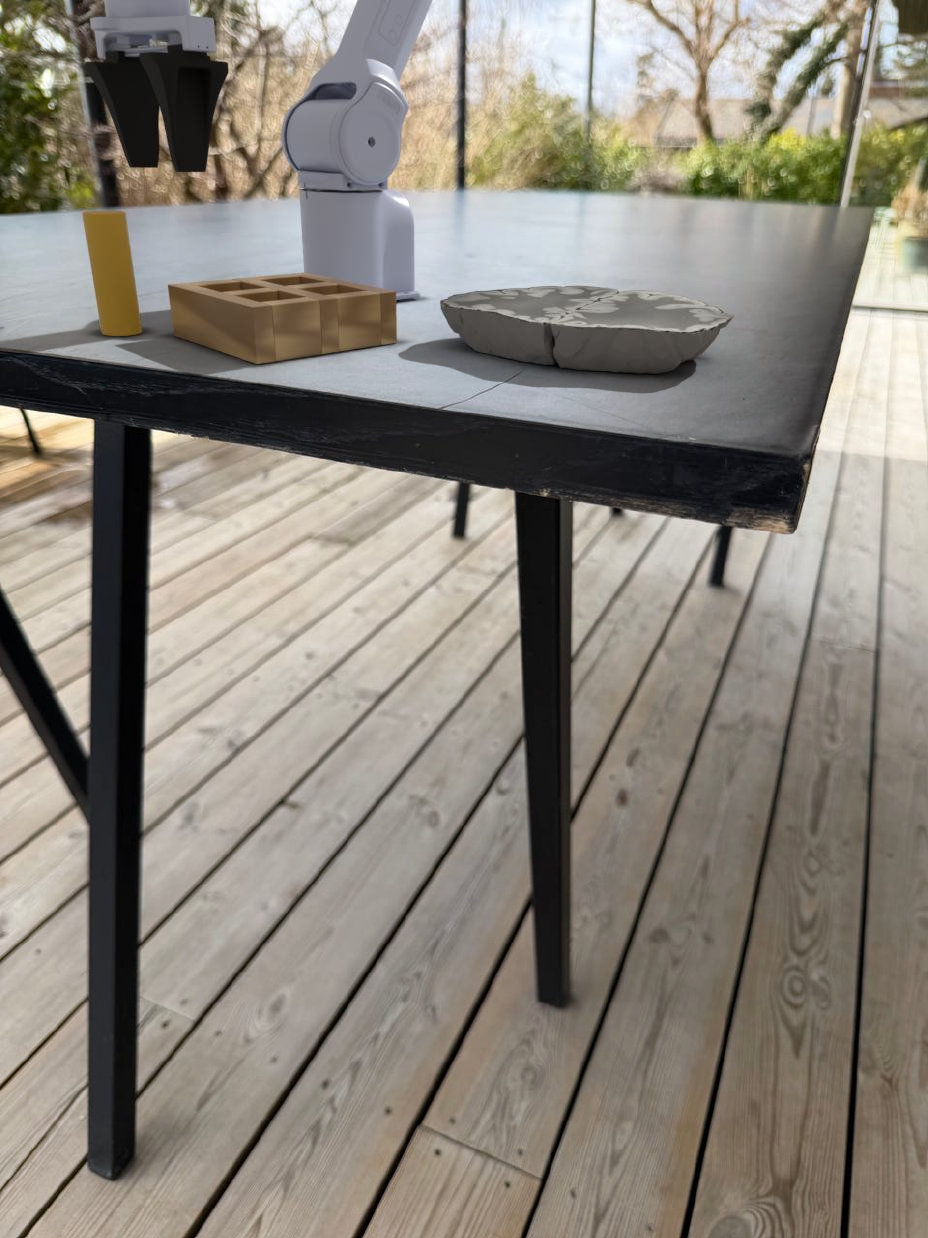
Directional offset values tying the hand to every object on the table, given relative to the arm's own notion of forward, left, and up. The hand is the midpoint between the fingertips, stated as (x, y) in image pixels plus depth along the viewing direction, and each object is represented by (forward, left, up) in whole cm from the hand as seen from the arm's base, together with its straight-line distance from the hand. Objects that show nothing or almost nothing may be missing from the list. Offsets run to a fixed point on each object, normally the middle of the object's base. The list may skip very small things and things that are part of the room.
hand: (166, 169), depth 68 cm
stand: (-1, +13, -10) cm, 17 cm away
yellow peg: (+7, +4, -10) cm, 13 cm away
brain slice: (-17, +28, -11) cm, 34 cm away
